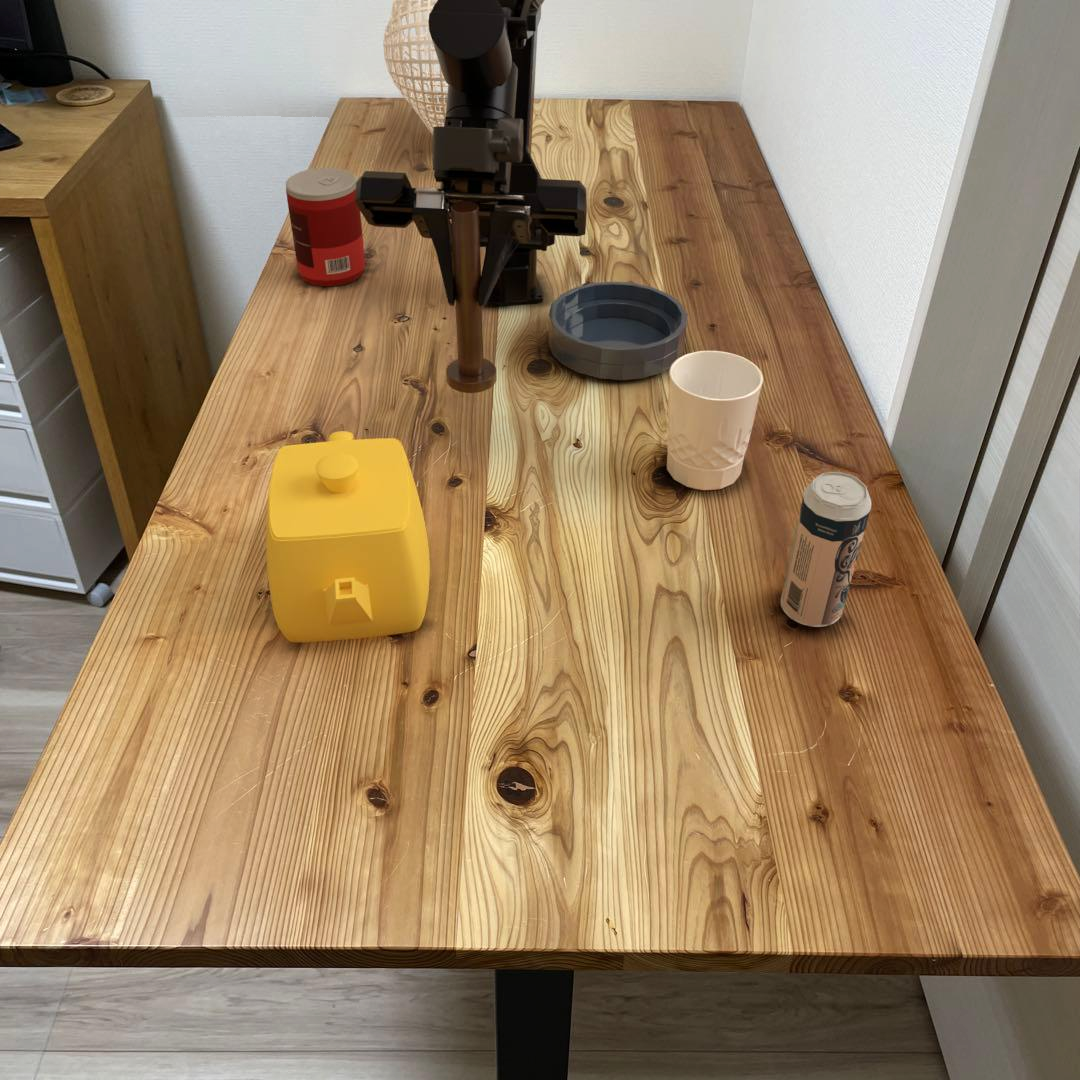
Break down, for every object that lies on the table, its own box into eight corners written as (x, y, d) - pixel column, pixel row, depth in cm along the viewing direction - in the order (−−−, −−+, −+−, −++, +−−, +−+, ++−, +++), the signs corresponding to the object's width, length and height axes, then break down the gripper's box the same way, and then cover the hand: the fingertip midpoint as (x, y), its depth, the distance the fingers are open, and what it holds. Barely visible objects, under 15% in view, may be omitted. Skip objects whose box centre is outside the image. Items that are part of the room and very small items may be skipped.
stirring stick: (438, 374, 95) (427, 202, 84) (481, 361, 97) (476, 190, 86) (461, 398, 92) (452, 223, 82) (505, 384, 94) (502, 211, 83)
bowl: (538, 320, 117) (538, 286, 115) (663, 310, 119) (666, 277, 117) (562, 389, 107) (563, 355, 104) (699, 377, 109) (704, 343, 106)
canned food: (378, 264, 127) (369, 173, 120) (341, 293, 121) (330, 200, 114) (324, 251, 129) (312, 162, 122) (285, 279, 124) (270, 187, 117)
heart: (503, 185, 145) (501, 8, 131) (388, 185, 145) (373, 7, 130) (503, 113, 166) (501, -47, 152) (403, 113, 166) (391, -47, 151)
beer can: (841, 635, 81) (875, 513, 73) (778, 626, 82) (805, 504, 74) (841, 593, 85) (873, 472, 77) (780, 584, 85) (806, 464, 78)
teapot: (440, 676, 78) (431, 555, 70) (267, 693, 76) (238, 571, 69) (424, 505, 93) (415, 390, 85) (279, 517, 91) (257, 400, 84)
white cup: (754, 453, 99) (770, 359, 92) (737, 503, 93) (753, 407, 87) (671, 436, 101) (681, 343, 94) (650, 484, 95) (659, 389, 89)
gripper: (346, 68, 82) (330, 268, 81) (590, 78, 81) (576, 281, 80) (377, 133, 93) (362, 309, 92) (591, 142, 92) (579, 321, 91)
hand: (466, 305), depth 88 cm, fingers closed on stirring stick, 2 cm apart
